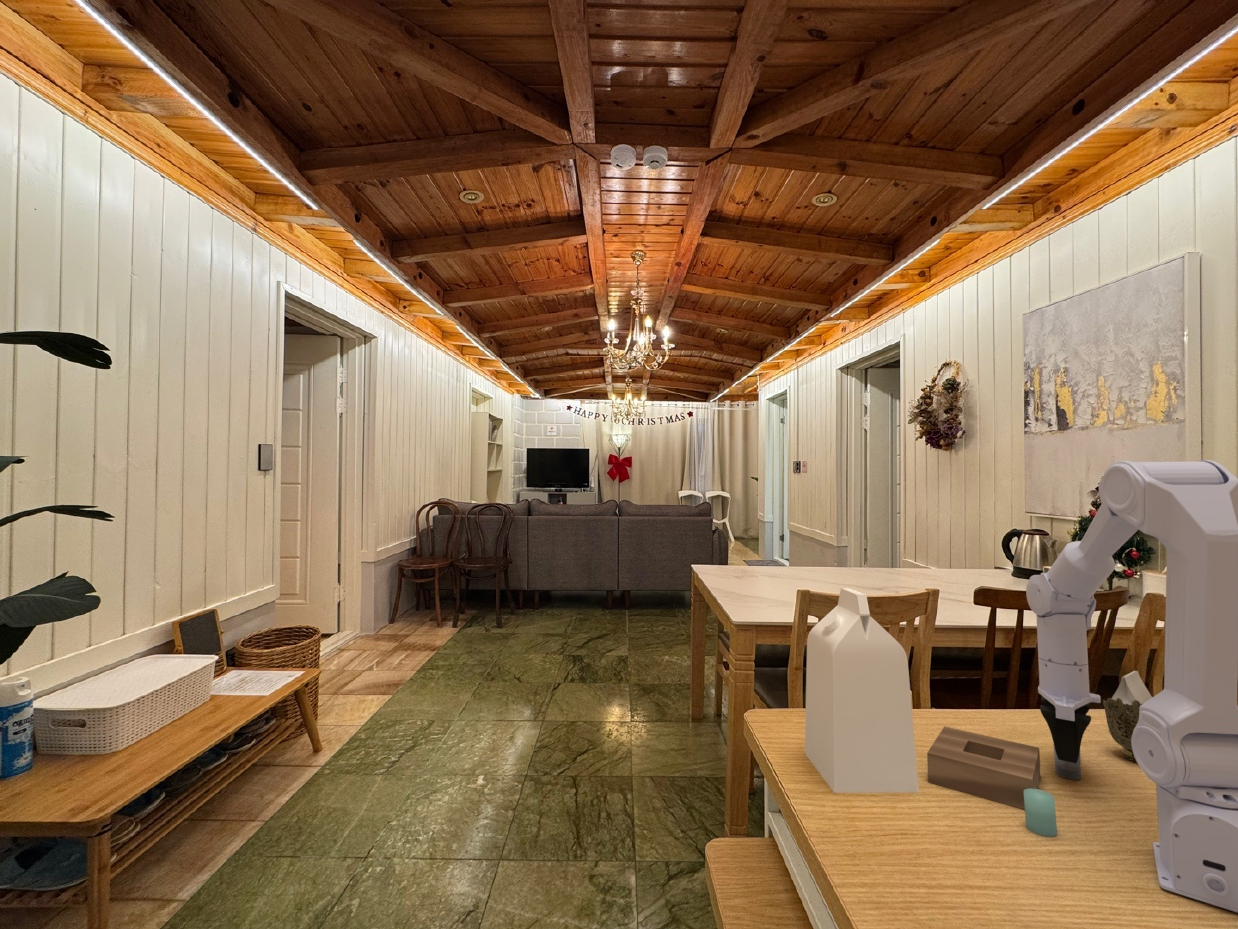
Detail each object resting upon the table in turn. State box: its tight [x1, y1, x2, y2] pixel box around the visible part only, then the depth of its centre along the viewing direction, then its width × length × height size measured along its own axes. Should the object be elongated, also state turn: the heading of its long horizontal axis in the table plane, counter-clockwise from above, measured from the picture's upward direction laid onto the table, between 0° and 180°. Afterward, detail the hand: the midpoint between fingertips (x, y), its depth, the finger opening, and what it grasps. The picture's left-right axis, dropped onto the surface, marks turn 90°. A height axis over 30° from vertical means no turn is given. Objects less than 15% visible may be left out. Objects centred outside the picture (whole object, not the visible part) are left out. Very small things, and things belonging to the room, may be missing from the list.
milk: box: [804, 587, 920, 794], centre depth 84 cm, size 12×12×26 cm
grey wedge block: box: [1111, 670, 1153, 705], centre depth 96 cm, size 4×7×10 cm, turn 124°
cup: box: [1103, 697, 1144, 763], centre depth 87 cm, size 8×7×8 cm
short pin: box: [1024, 788, 1058, 838], centre depth 68 cm, size 3×3×4 cm
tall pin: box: [1053, 746, 1082, 781], centre depth 82 cm, size 3×3×7 cm
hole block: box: [926, 725, 1041, 811], centre depth 81 cm, size 12×12×4 cm
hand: (1067, 756), depth 82 cm, fingers closed on tall pin, 3 cm apart
